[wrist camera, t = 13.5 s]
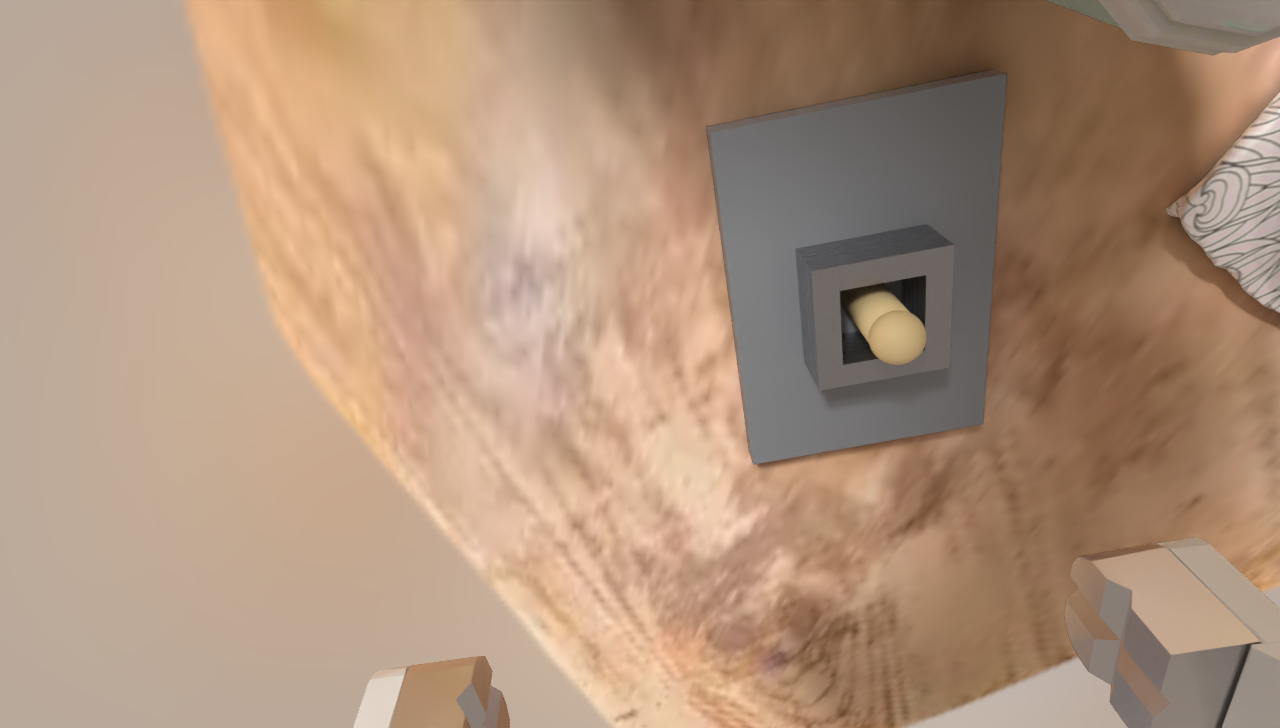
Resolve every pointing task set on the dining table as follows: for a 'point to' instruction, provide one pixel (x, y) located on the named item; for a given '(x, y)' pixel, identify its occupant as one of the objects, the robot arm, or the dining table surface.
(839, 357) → the hollow square frame
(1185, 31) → the disposable coffee cup
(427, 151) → the dining table surface
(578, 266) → the dining table surface
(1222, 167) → the cookie jar
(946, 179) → the keeper board
